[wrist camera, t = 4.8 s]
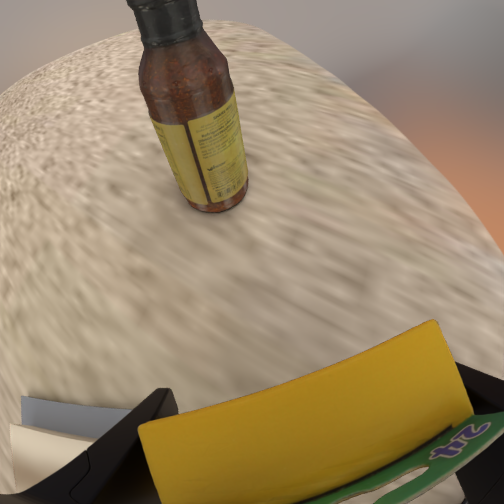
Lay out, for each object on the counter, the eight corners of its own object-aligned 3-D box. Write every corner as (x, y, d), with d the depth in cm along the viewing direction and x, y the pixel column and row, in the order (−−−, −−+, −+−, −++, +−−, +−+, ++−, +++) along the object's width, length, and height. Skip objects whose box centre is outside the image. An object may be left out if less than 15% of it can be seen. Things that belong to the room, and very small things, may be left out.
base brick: (138, 545, 13) (121, 559, 10) (45, 518, 13) (23, 524, 10) (122, 441, 17) (102, 444, 15) (33, 425, 17) (9, 423, 15)
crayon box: (347, 371, 15) (482, 278, 5) (367, 421, 13) (534, 412, 3) (212, 417, 14) (84, 420, 4) (230, 470, 12) (143, 576, 2)
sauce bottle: (250, 164, 30) (229, -41, 12) (248, 216, 27) (218, -29, 9) (185, 167, 30) (131, -22, 13) (175, 218, 27) (91, 1, 10)
